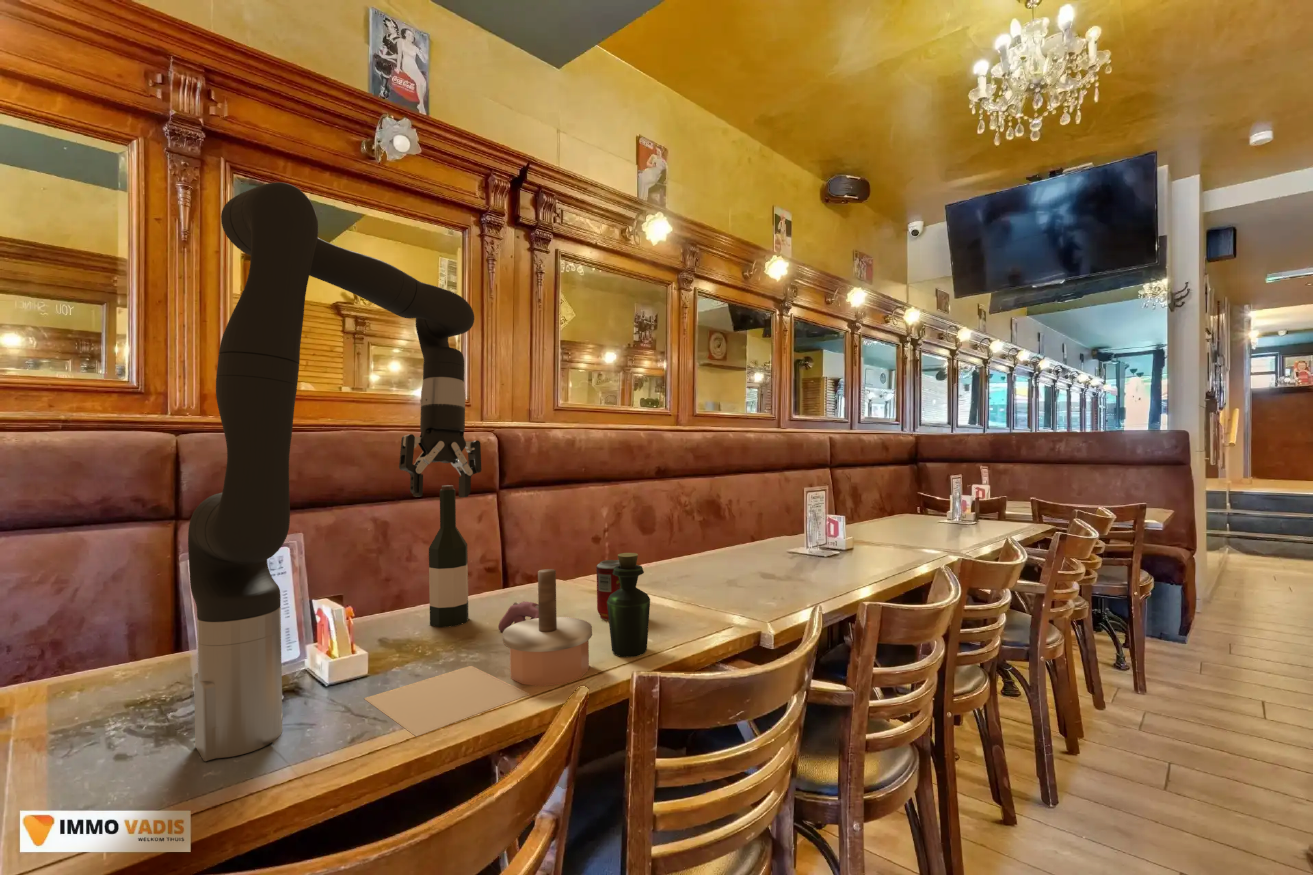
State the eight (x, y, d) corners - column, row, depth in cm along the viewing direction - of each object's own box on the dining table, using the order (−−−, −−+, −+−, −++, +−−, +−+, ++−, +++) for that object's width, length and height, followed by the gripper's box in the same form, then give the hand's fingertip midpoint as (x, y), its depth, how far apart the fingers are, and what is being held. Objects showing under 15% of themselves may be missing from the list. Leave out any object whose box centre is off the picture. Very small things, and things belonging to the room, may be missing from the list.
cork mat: (416, 739, 81) (416, 736, 81) (363, 700, 93) (363, 698, 93) (530, 696, 94) (530, 693, 94) (470, 667, 106) (470, 665, 106)
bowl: (540, 694, 95) (539, 655, 95) (495, 673, 104) (494, 637, 104) (603, 670, 104) (602, 635, 104) (557, 653, 113) (556, 620, 113)
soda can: (622, 622, 131) (621, 565, 132) (592, 620, 133) (591, 564, 133) (633, 613, 138) (632, 559, 138) (604, 611, 140) (602, 558, 140)
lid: (537, 658, 93) (536, 585, 93) (485, 638, 104) (484, 572, 104) (610, 634, 104) (608, 569, 104) (556, 618, 114) (555, 558, 115)
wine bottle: (456, 628, 129) (454, 487, 130) (421, 626, 131) (419, 487, 131) (476, 616, 138) (474, 484, 138) (442, 615, 139) (440, 484, 139)
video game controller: (544, 640, 125) (554, 606, 128) (531, 636, 121) (541, 601, 124) (508, 634, 130) (518, 601, 133) (494, 629, 126) (505, 596, 129)
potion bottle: (647, 642, 118) (646, 549, 118) (654, 657, 110) (653, 557, 110) (605, 645, 117) (604, 551, 117) (609, 660, 109) (608, 559, 109)
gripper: (414, 397, 101) (411, 495, 99) (489, 407, 112) (488, 496, 109) (394, 404, 106) (391, 497, 104) (468, 413, 117) (467, 498, 114)
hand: (441, 496), depth 107 cm, fingers open, 8 cm apart
